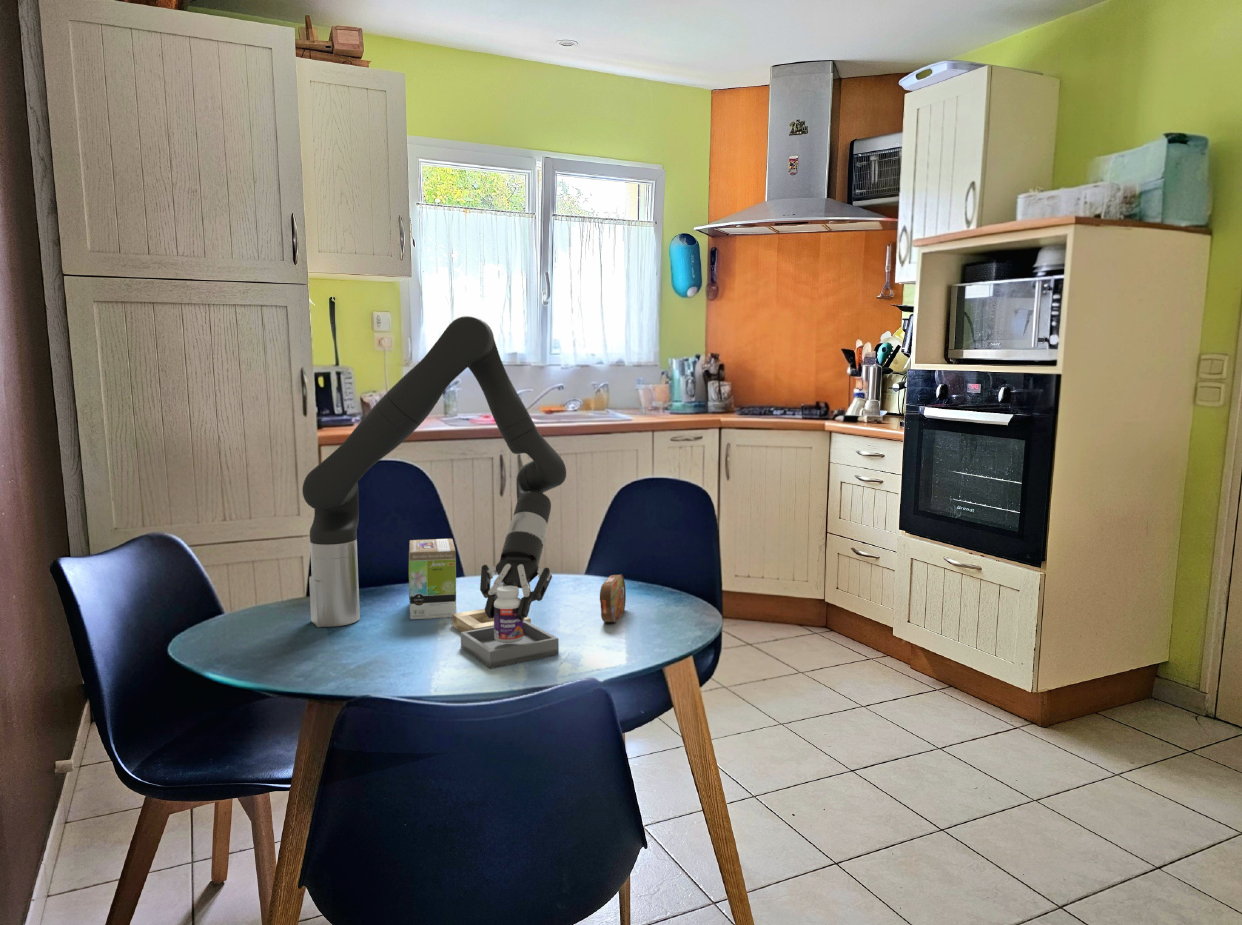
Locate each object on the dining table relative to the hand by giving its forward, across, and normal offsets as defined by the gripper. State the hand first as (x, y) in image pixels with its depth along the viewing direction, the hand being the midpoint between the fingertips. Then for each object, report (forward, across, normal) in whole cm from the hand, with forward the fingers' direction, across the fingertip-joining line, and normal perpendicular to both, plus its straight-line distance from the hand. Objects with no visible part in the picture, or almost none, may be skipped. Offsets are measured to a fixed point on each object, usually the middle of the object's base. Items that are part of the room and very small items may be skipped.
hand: (505, 616), depth 151 cm
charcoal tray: (+4, 0, +6) cm, 7 cm away
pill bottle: (+2, 0, +5) cm, 5 cm away
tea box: (-12, -26, +23) cm, 37 cm away
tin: (-14, +14, +24) cm, 31 cm away
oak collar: (-5, -8, +15) cm, 18 cm away
